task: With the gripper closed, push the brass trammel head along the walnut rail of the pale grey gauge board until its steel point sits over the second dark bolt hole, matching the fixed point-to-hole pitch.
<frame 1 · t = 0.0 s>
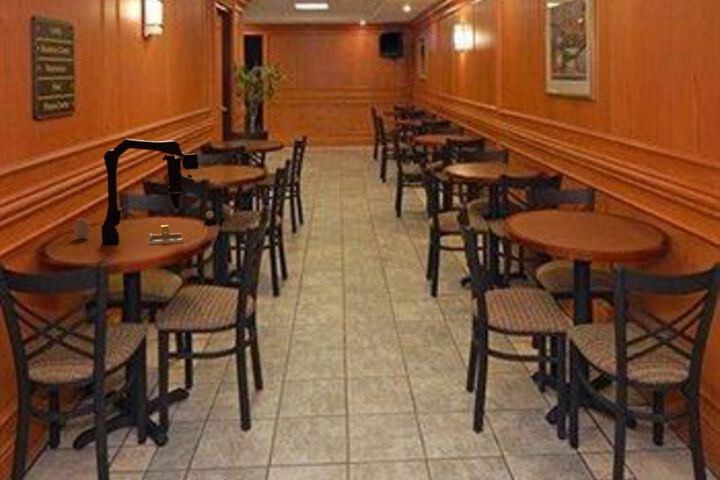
hand: (176, 206, 331), 15 cm above the table, fingers open, 9 cm apart
gauge board: (165, 240, 331), on the table
egg: (82, 239, 337), on the table
trammel head: (165, 231, 329), point 4 cm above the table, slide at 0.0 cm
grandmother figurine: (211, 240, 332), on the table
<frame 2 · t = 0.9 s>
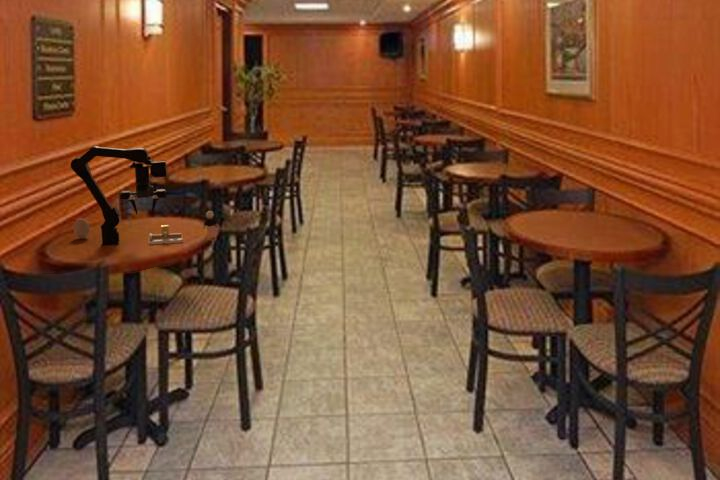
hand: (144, 214, 327), 12 cm above the table, fingers open, 6 cm apart
nothing on the table moved.
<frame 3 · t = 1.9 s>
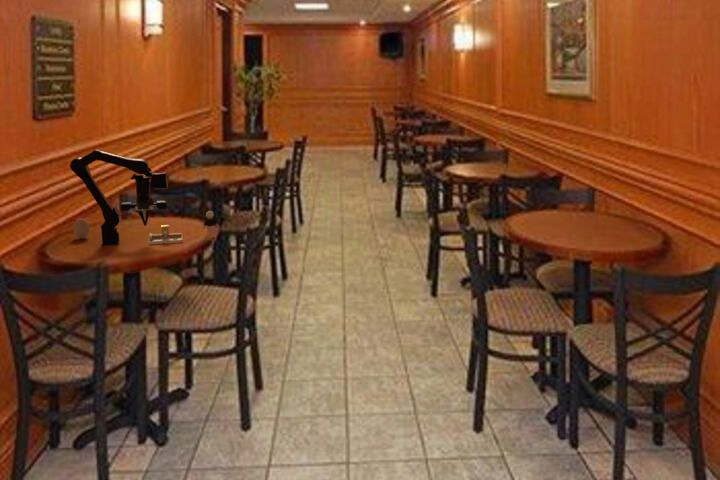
hand: (145, 225, 328), 7 cm above the table, fingers closed
nothing on the table moved.
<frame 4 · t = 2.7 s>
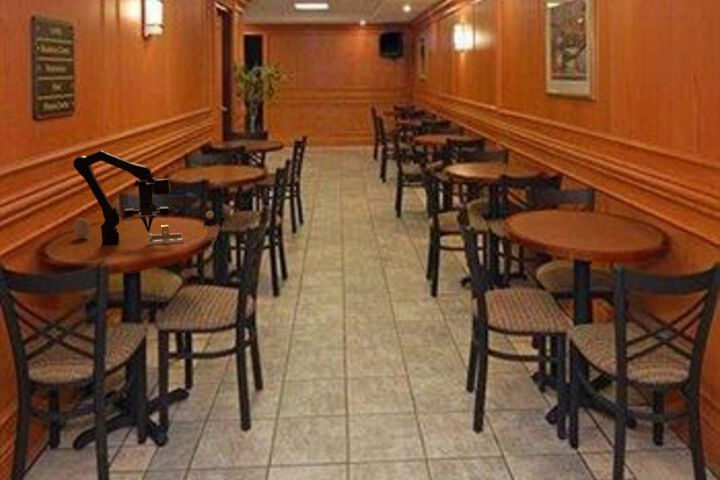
hand: (148, 231, 329), 4 cm above the table, fingers closed
nothing on the table moved.
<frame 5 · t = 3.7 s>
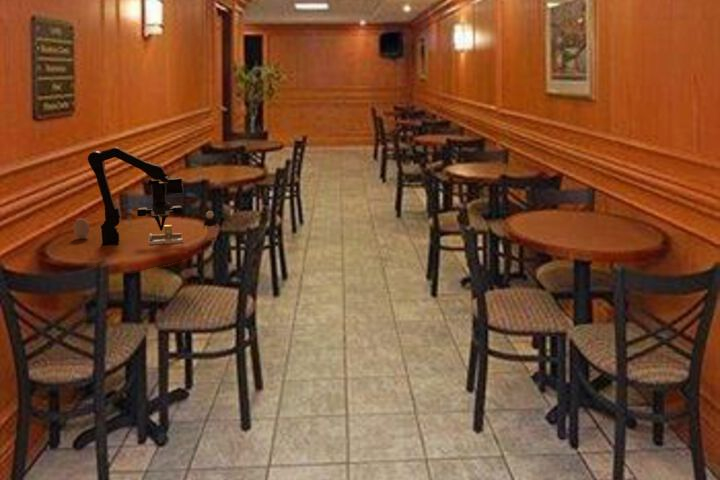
hand: (161, 230, 330), 4 cm above the table, fingers closed
trammel head: (168, 231, 329), point 4 cm above the table, slide at 1.3 cm, touching gripper
everything else where it was.
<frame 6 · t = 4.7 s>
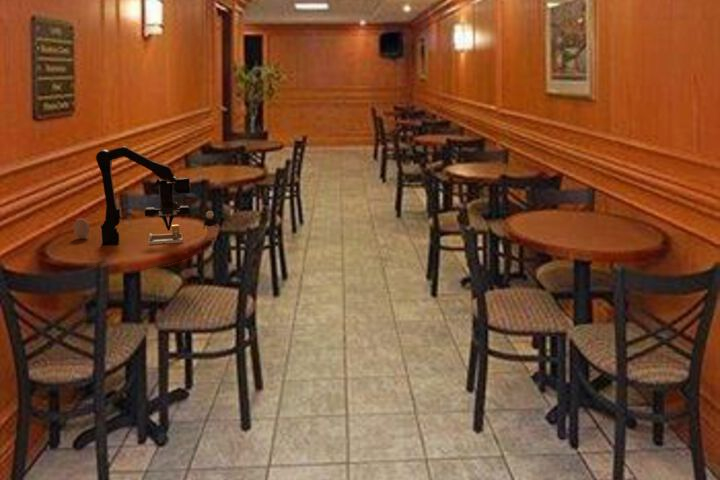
hand: (168, 230, 331), 4 cm above the table, fingers closed
trammel head: (175, 230, 330), point 4 cm above the table, slide at 4.4 cm, touching gripper
everything else where it was.
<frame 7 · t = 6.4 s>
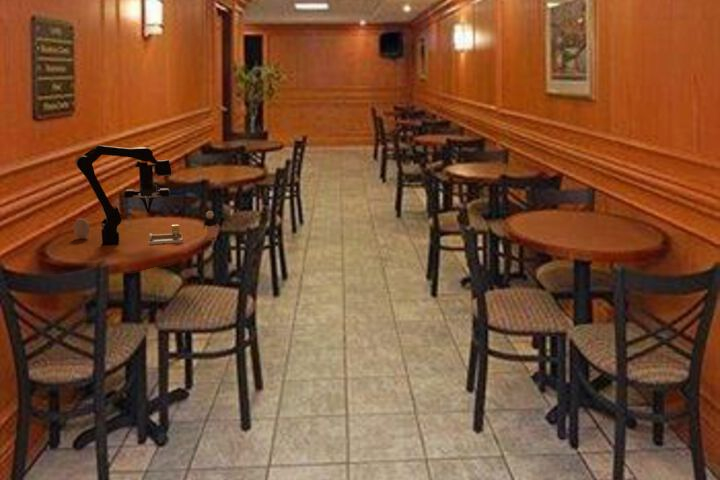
hand: (148, 212, 332), 12 cm above the table, fingers closed
trammel head: (175, 230, 330), point 4 cm above the table, slide at 4.4 cm
everything else where it was.
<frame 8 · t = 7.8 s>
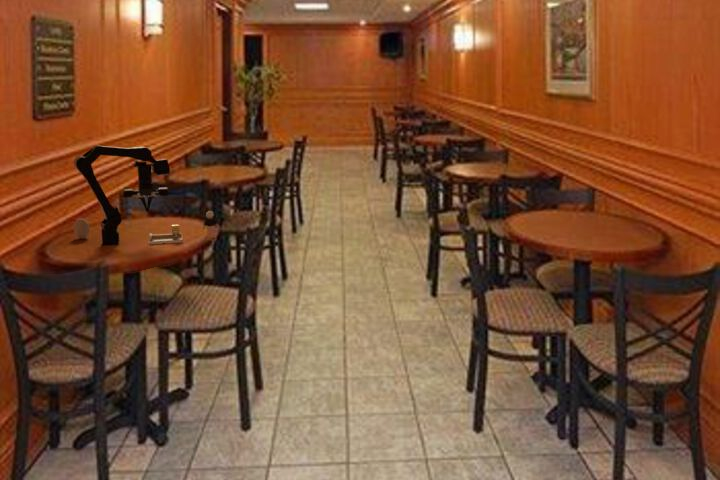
hand: (147, 212, 332), 12 cm above the table, fingers closed
nothing on the table moved.
at the end: trammel head slide at 4.4 cm; trammel head touching nothing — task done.
